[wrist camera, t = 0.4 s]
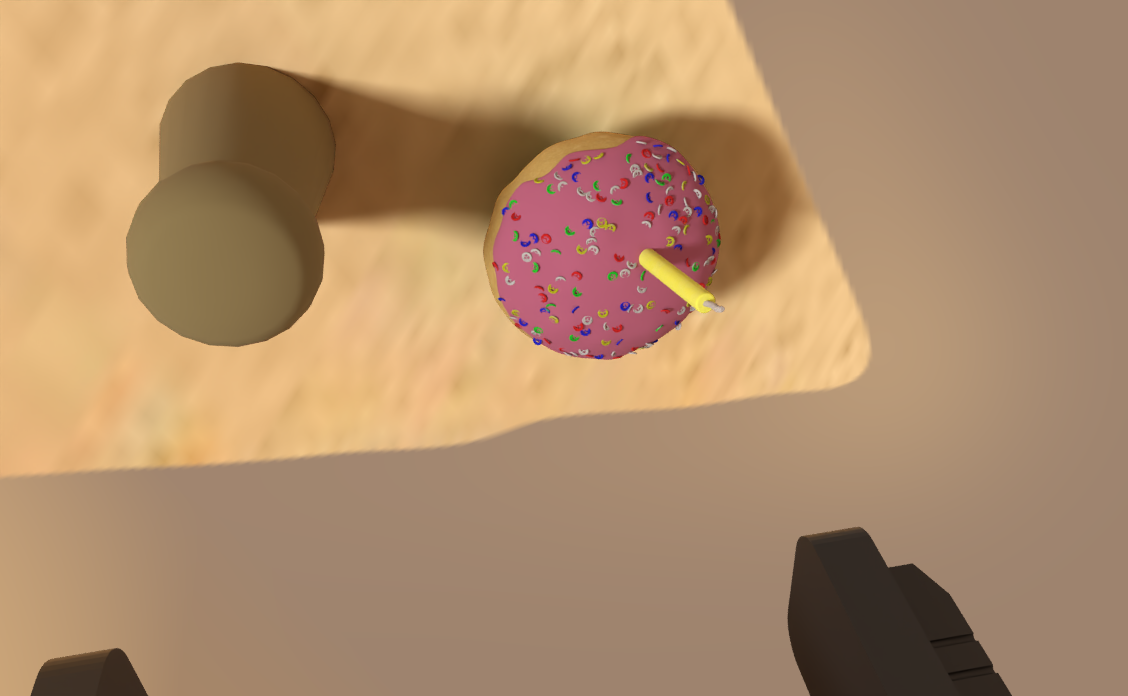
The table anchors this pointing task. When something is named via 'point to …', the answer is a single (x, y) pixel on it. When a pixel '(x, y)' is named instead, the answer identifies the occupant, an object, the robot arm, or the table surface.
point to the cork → (234, 207)
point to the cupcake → (603, 245)
